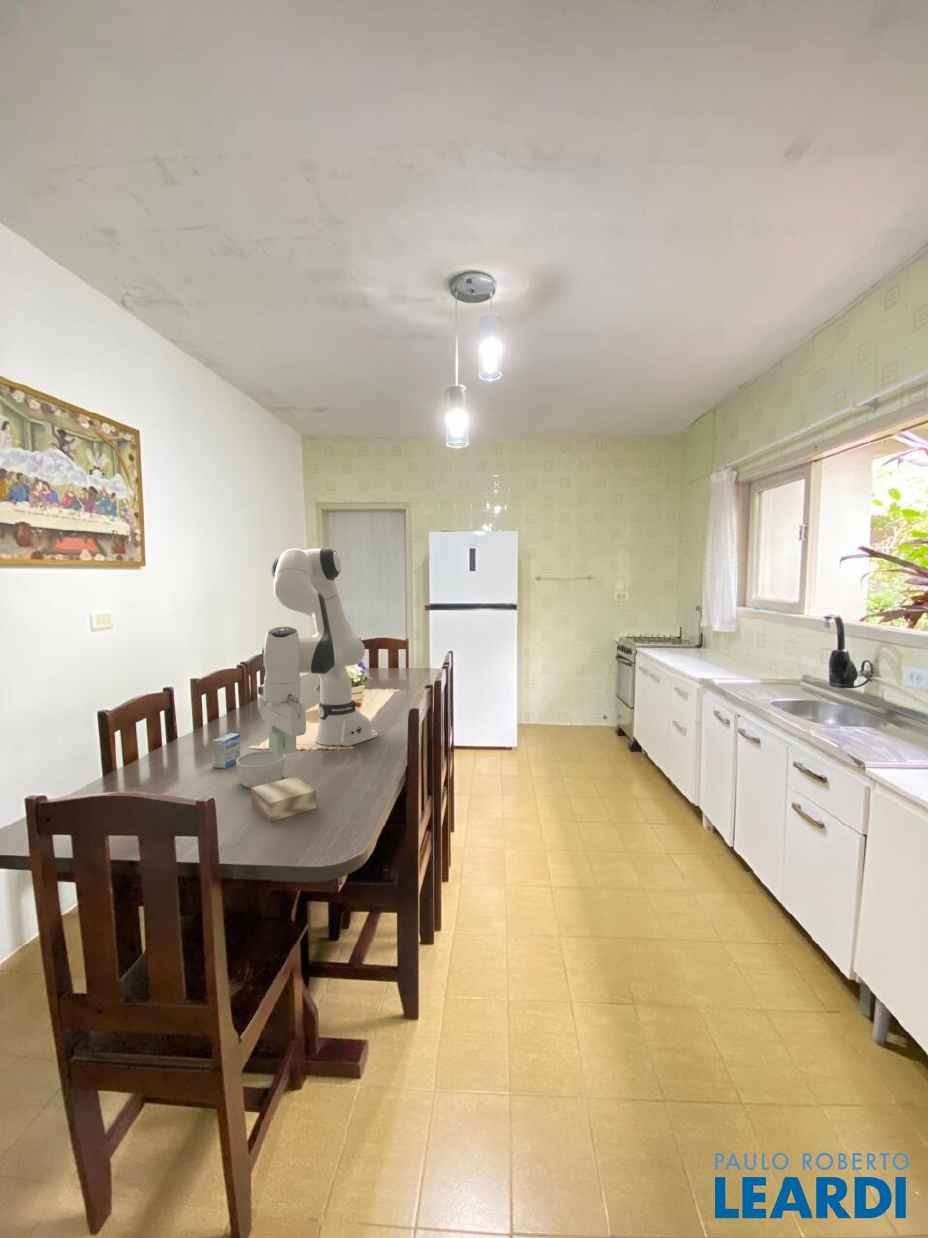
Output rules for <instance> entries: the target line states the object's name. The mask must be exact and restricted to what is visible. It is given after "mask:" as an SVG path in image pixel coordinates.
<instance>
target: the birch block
mask: <svg viewBox="0 0 928 1238" xmlns="http://www.w3.org/2000/svg"><path fill="white" fill-rule="evenodd" d="M250 790H251V791H250V794H251V799H250V801H251V802H250V803H251V804H250V805H251V806H252V807H253V808H254V809H255V810H256V811H257V812H258V813H259V814H260V815H262V816H263V817H264V818H265V819H266V820H267V821H268V822H270V823H271V822H274V821H277V820H281V819H284V818H287V817H291V816H294V815H297V814H301V813H304V812H306V811H310V810H314V809H316V808H317V790H316V789H314V788H313V787H312V786H310V785H309V784H307V783H306V782H304V781H303V780H301V778H300V777H299V778H298V777H297V776H292V777H287V778H284V779H283V778H282V779H280V780H279V781H276V782H272V783H268V784H264V785H260V786H256V787H252V788H250Z"/></svg>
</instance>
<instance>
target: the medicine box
mask: <svg viewBox="0 0 928 1238" xmlns="http://www.w3.org/2000/svg"><path fill="white" fill-rule="evenodd" d="M211 753H212V754H211V756H212V757H211V758H212V768H217V769H227V768H229V767H231V766H232V765H234V764H236V760H237V759H238V758H239V757H240V756H241V734H239V733H233V732H231V733H230V732H229V733H227V734H224V735H222V736H220V737H217V738H215V739H213V740H212V741H211Z"/></svg>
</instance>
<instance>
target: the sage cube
mask: <svg viewBox="0 0 928 1238" xmlns="http://www.w3.org/2000/svg"><path fill="white" fill-rule="evenodd" d="M285 737H286V736H285V732H283V731H281V730H275V731H268V750H269V751H270V752H272V753H273V754H275V755H276V756H279V755H284V754H285V755H288V754H292V753H293V754H294V753H297V736H295V737H294V739H293V747H292V748H290V749H286V748H284V747H283V745H284V744H283V741H285Z"/></svg>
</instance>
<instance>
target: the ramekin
mask: <svg viewBox="0 0 928 1238" xmlns="http://www.w3.org/2000/svg"><path fill="white" fill-rule="evenodd" d="M285 762H286V754H284V755H279V756H276V755H275V754H273V753H272V752H270V751H269V749H268V750H267V749H266V750H255V751H252V752H248V753H245V754H243V755H240V757H239V758H238V759H237V760H236V763H235V766H236V768H237V774H238V775H237V776H238V781H239V783H240V784H241V785H242V786H243V787H245V788H248V789H251V788H252V787H256V786H260V785H264V784H268V783H272V782H276V781H279V780H282V779H283V776H284V770H285Z"/></svg>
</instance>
